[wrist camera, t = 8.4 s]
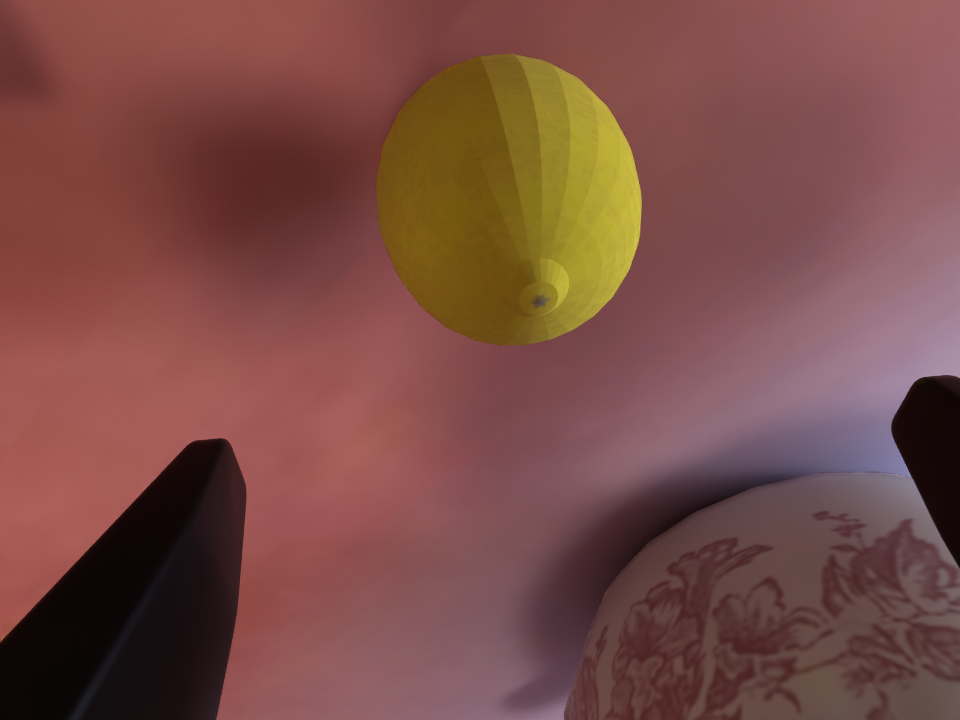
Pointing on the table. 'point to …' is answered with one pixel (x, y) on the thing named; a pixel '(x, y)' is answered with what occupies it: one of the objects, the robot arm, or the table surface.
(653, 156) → the table surface
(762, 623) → the chamber pot
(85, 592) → the robot arm
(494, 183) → the lemon
